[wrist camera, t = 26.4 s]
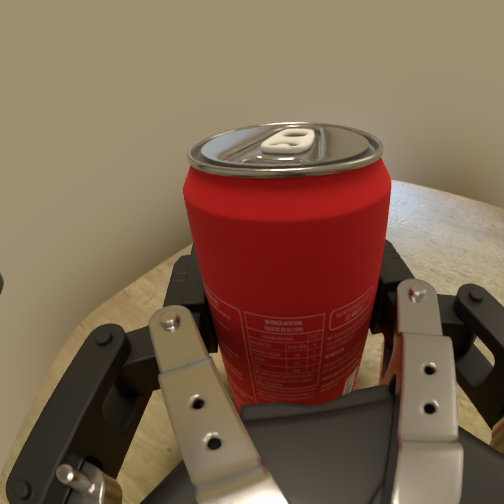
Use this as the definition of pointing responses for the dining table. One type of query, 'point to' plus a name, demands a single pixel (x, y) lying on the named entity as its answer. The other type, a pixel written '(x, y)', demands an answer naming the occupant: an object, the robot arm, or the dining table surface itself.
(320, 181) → the beverage can
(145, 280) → the dining table surface
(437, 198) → the dining table surface
